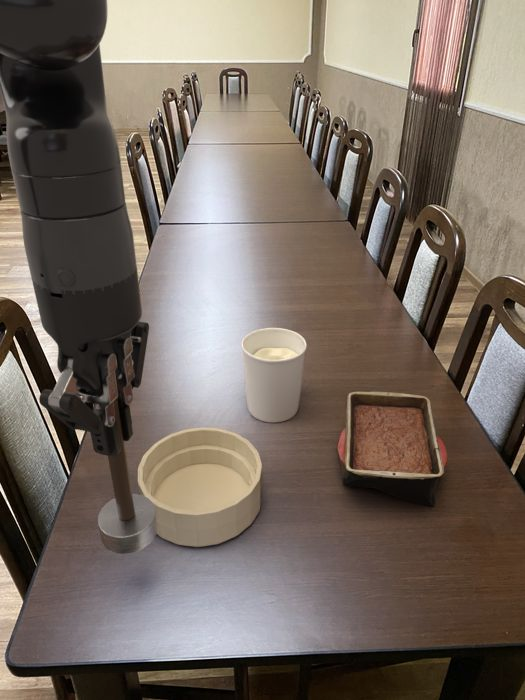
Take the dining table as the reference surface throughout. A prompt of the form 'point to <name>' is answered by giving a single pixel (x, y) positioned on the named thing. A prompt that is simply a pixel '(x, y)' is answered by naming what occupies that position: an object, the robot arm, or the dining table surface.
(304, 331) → the dining table surface
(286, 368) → the white cup
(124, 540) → the rod with silver disc
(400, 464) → the baking dish
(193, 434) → the bowl
